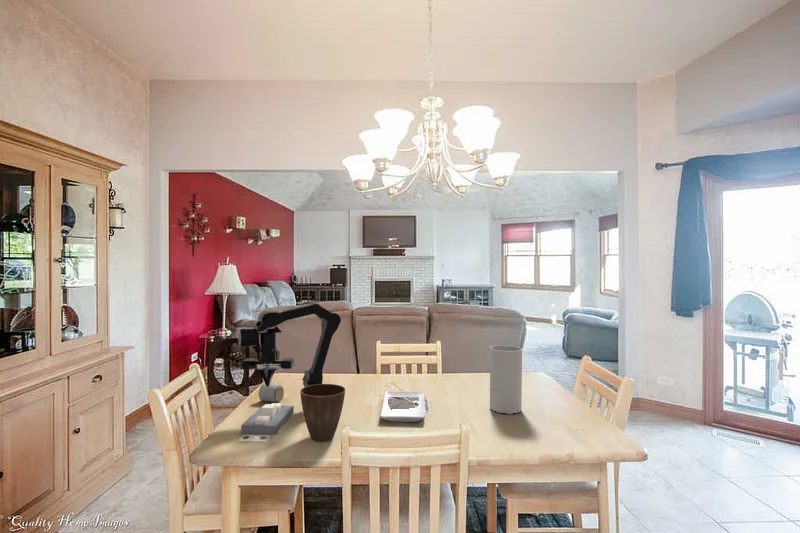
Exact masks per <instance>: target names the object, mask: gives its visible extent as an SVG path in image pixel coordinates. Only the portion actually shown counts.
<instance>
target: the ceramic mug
mask: <svg viewBox="0 0 800 533" xmlns="http://www.w3.org/2000/svg"><path fill="white" fill-rule="evenodd" d="M284 397H285V390H284V386H282V385H280V384H278V383H272V382H271V383H270V386H269V387H267V386H266V384H265V382H264V381H263V383H262V384H261V385H260V387H259V390H258V398H259V400H260V401H262V402H268V403H269V402H271V403H279V402H280V401H281V400H282V399H283V398H284Z"/></svg>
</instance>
